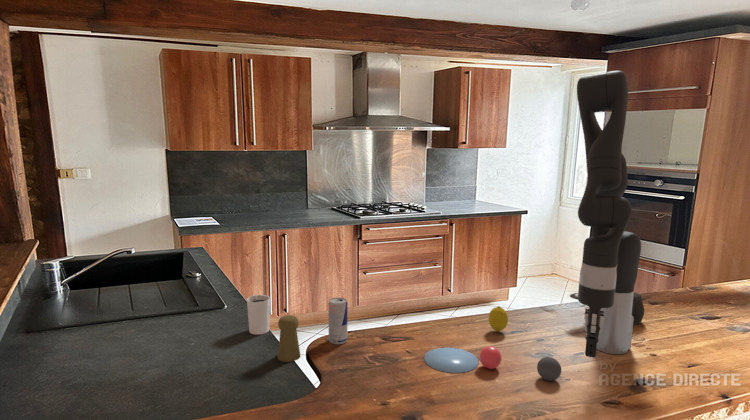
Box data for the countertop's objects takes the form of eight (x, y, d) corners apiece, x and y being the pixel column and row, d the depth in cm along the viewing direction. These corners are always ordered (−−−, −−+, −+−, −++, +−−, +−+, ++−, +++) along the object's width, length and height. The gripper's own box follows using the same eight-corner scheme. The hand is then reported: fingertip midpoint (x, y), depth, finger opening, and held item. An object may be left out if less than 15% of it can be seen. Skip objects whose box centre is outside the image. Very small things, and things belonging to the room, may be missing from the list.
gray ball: (549, 372, 119) (550, 351, 118) (565, 382, 113) (567, 361, 113) (531, 376, 117) (532, 354, 116) (547, 386, 112) (548, 364, 111)
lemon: (505, 328, 146) (506, 303, 144) (508, 336, 140) (510, 310, 139) (487, 327, 146) (488, 302, 145) (489, 335, 141) (490, 309, 140)
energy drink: (350, 339, 137) (350, 299, 135) (341, 346, 132) (341, 304, 130) (334, 335, 139) (334, 296, 137) (325, 342, 134) (324, 301, 133)
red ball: (492, 361, 124) (493, 341, 123) (505, 370, 119) (506, 350, 118) (474, 364, 122) (475, 344, 121) (486, 374, 117) (487, 353, 116)
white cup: (259, 337, 138) (258, 303, 136) (243, 331, 141) (241, 299, 140) (275, 329, 143) (274, 297, 142) (259, 324, 147) (258, 293, 145)
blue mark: (460, 345, 134) (460, 344, 134) (489, 367, 121) (489, 366, 121) (415, 352, 129) (415, 352, 129) (440, 376, 116) (440, 376, 116)
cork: (278, 351, 128) (277, 312, 127) (301, 351, 129) (300, 312, 127) (276, 362, 122) (275, 321, 121) (299, 361, 123) (299, 320, 121)
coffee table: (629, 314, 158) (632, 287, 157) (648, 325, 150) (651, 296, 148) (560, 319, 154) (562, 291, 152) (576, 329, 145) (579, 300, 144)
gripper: (616, 294, 100) (608, 371, 103) (614, 278, 112) (607, 348, 115) (578, 288, 103) (571, 363, 106) (580, 274, 115) (574, 342, 118)
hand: (590, 355), depth 110 cm, fingers closed
